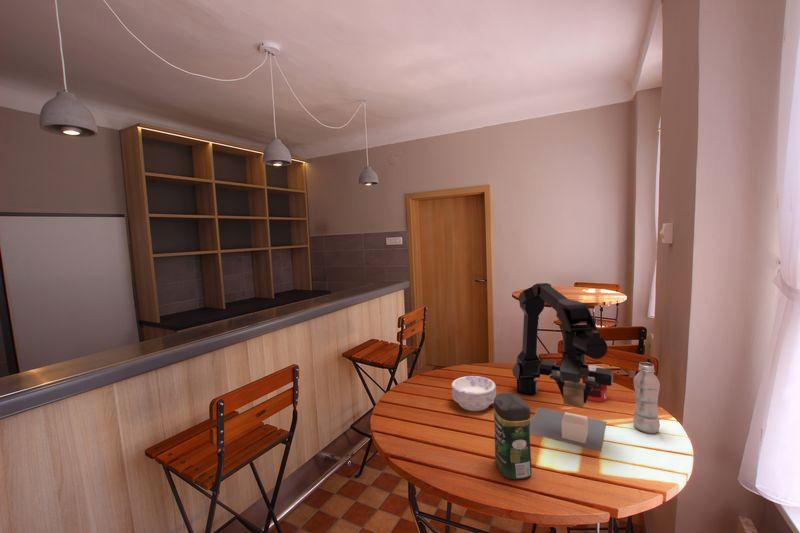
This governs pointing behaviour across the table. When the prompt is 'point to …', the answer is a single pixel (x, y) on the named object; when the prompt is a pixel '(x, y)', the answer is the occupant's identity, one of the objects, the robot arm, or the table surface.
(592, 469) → the table surface
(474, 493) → the table surface
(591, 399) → the canned food
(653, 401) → the plastic bottle
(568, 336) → the robot arm
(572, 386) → the walnut block
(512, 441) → the coffee jar
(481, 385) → the paper bowls
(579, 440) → the cream block
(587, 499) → the table surface
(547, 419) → the build mat
